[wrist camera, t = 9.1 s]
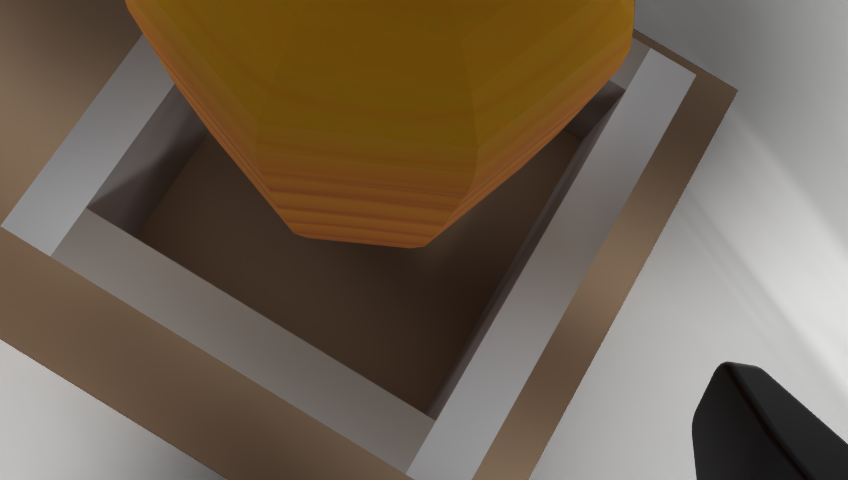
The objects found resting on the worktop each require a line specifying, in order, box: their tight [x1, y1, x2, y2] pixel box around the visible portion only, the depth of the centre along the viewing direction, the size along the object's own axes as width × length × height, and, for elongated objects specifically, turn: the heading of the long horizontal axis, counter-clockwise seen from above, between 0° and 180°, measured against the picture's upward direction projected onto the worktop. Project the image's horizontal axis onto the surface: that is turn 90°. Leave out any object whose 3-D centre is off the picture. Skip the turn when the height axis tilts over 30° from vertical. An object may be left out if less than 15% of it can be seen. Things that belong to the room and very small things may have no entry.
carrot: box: [125, 0, 635, 248], centre depth 10 cm, size 5×5×15 cm
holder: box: [0, 0, 738, 480], centre depth 17 cm, size 13×16×4 cm
